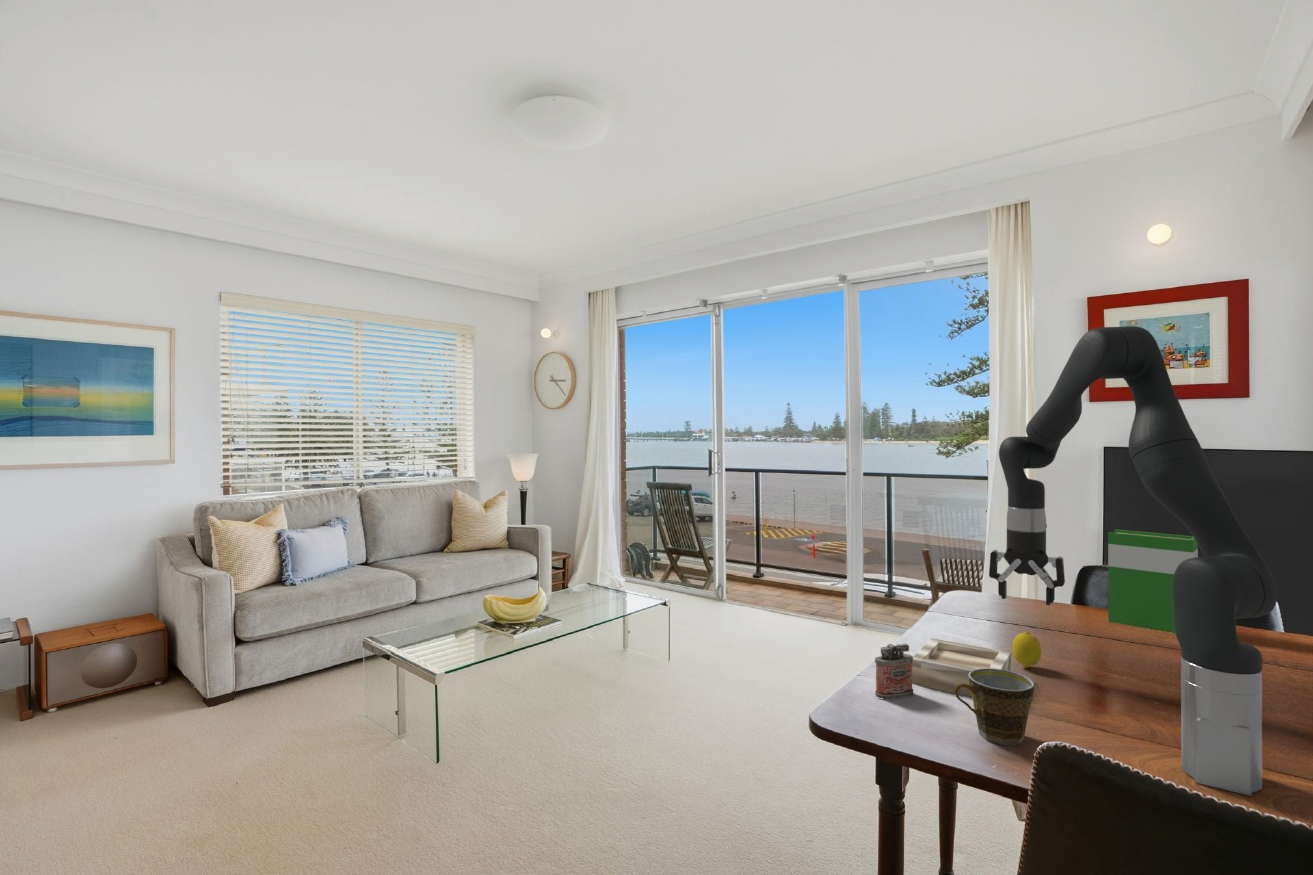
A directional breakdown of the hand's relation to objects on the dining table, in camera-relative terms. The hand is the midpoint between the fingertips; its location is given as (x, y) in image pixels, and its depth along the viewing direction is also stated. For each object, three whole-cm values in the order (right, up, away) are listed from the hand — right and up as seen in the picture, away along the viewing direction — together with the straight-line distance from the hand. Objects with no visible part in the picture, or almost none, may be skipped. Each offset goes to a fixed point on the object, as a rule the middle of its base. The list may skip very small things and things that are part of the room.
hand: (1026, 601), depth 142 cm
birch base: (-17, -15, -6) cm, 23 cm away
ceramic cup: (-23, -16, -31) cm, 42 cm away
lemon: (0, -15, 0) cm, 15 cm away
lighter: (-34, -16, -13) cm, 39 cm away
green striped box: (+49, -14, +28) cm, 58 cm away
